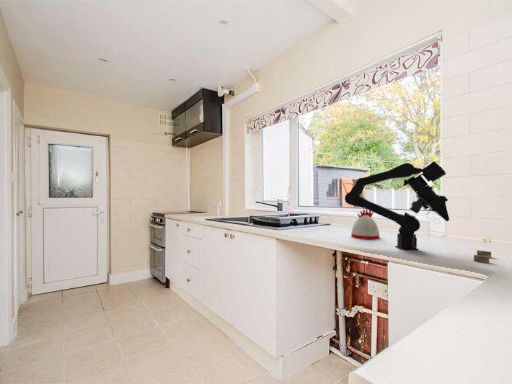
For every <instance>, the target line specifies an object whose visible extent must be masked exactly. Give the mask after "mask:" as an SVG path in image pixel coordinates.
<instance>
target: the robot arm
mask: <svg viewBox="0 0 512 384" xmlns="http://www.w3.org/2000/svg"><path fill="white" fill-rule="evenodd" d="M415 175H418V176H416V177H415ZM445 175H447V172H446V171H445V170H444V169H443V167H442V166H440V165H439V163H437V162H436V161H432V162H431V163H430V164H428V165H427V166H425V167H424V168H421V167H420V168H419V167H414V165H413V164H412V163H408V162H405V163H402V164H400V165H398V166H395V167H393V168H391V169H390V170H386V171H382V172H379V173H375V174H371V175H368V176H365V177H360V178H358V179H357V180H356V182H355V184H354V185H353V187H352V188H351V190H350V191H349V192H347V193H346V194H345V196H344V201H345V203H346V204H348V205H351V206H355V207H359V208H363V209H364V210H366V209H367V211H369V210H370V211H371V213H372V212H373V214H374V213H375V214H377V215H379V216H381V217H384V218H385V219H387V220H391V221H393V222H394V223H396V224H397V225H398V226H400V227H398V233H397V239H396V241H397V242H396V243H397V245H395V246H394V247H395V248H397V249H400V250H403V251H418V250H419V248H417V247H418V245H417V244H418V243H417V242H418V238H417V234H415V232H417V231H419V229H420V227H421V223H420V221H419V219H418V218H417V217H416V215H412V214H410V213H408V212H407V211H405V212H404V214H402V213H398V212H396V211H393V210H391V209H389V208H387V207H384V206H382V205H379V204H377V203H375V202H373V201H370V200H368V199H367V198H365V197H364V196H362V193H363V191H364V189H365V187H366V186H368V185H373V184H377V183H380V182H384V181H385V182H386V181H388V180H391V179H393V180H394V179H403V187H406V186H409V187H410V189H412V190H413V192H414V193H415V194H416V198H417V199H416V200H415V201H412V203H411V206H410V207H409V210H410V211H412V212H413V213H415V214H418V213H419V212H420V211H421V209H422V208H423V209H424V210H426V211H429V212H434V213H435V214H437V216H439V217H441V218H442V219H443V220H444V221H446V222H449V221H450V216H449V212H448V208H447V204H446V202H448V201H449V199H448V198H447V197H446V196H445V195H439V194H437V193H436V191H434V190H433V186H430V185H429V184H428V183H429V182H432V183H434V182H436V181H437V180H439V179H440V178H442V177H444V176H445ZM404 178H408V179H404ZM427 182H428V183H427Z"/></svg>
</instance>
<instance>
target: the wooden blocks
mask: <svg viewBox="0 0 512 384" xmlns="http://www.w3.org/2000/svg"><path fill="white" fill-rule="evenodd" d="M490 258H492V251H487V250H479V249H477V250H476V254H474V255H473V262H478V263H486V264H490Z"/></svg>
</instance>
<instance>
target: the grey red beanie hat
mask: <svg viewBox="0 0 512 384" xmlns="http://www.w3.org/2000/svg"><path fill="white" fill-rule="evenodd" d="M359 212H360V213H357V216H358V218H357V219H356V220H355V221H354V223H353V225H352V228H351V233H350V234H351V237H352V238H355V239H362V240H378V239H380V231H379V228H378V224H377V223H376V221H375V220H374V219H373V218H372V217H373V215H374V212H372V211H370V210H368V209H365V208H363V209H362V211H361V210H360V211H359Z"/></svg>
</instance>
